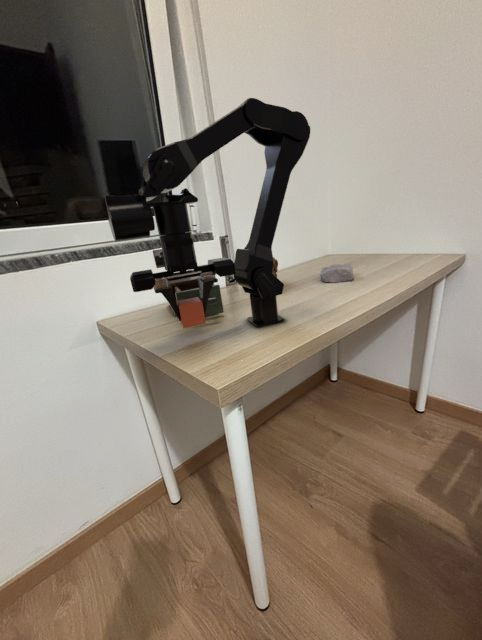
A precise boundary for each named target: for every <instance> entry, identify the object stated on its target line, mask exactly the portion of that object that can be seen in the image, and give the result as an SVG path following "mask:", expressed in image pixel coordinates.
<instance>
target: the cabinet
mask: <svg viewBox="0 0 482 640" xmlns="http://www.w3.org/2000/svg"><path fill="white" fill-rule="evenodd" d="M197 278H199V276H195V277H190V278H184V279H178V280H173V281H169V283H168V284H169V285H170V287H171V288H172V291H173V294H174V297H175V293H174V289H173V286H177V285H182V284H188V283H193V282H198V280H197ZM213 284H214V285H215V283H213ZM175 300H176V298H175ZM169 306H170V308H171V310H172V312H173V315H174V316H175V317H177V316H176V314H175V312H174V310H173V309H172V307H171V305H170V304H169Z"/></svg>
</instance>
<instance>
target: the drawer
mask: <svg viewBox="0 0 482 640" xmlns="http://www.w3.org/2000/svg"><path fill="white" fill-rule="evenodd" d="M173 289H174V293H175V298H176V301H180V300H185V299H190V298H195V297H198V298H199V299H200V293H199V285H198V282H193V283H188V284H182V285H177V286H173ZM223 313H225V311H224V306H223V300H222V292H221V286H220V284H218V283H217V284H215V283H214V284H213V286H212V289H211V292H210V295H209V299H208V303H207V308H206V313H205V317H208V316H213V315H218V314H223Z"/></svg>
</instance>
